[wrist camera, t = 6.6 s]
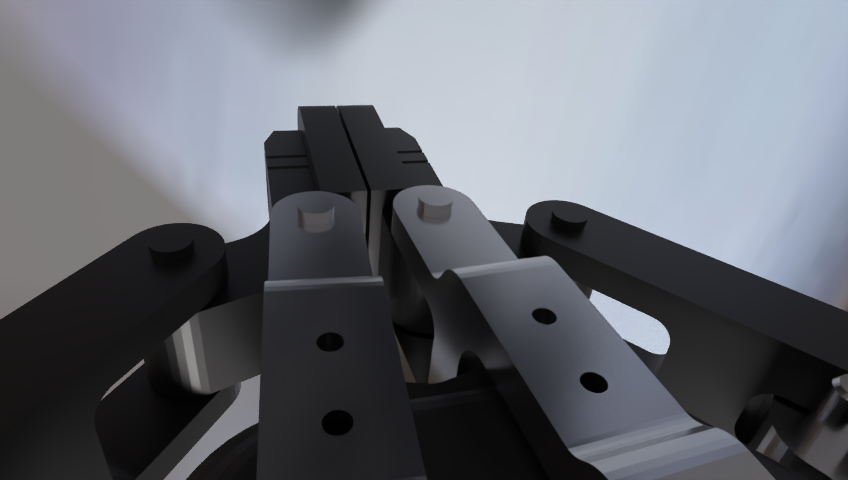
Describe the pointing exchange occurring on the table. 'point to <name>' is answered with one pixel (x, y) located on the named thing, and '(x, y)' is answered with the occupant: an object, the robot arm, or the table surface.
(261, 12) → the table surface
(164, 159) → the table surface
